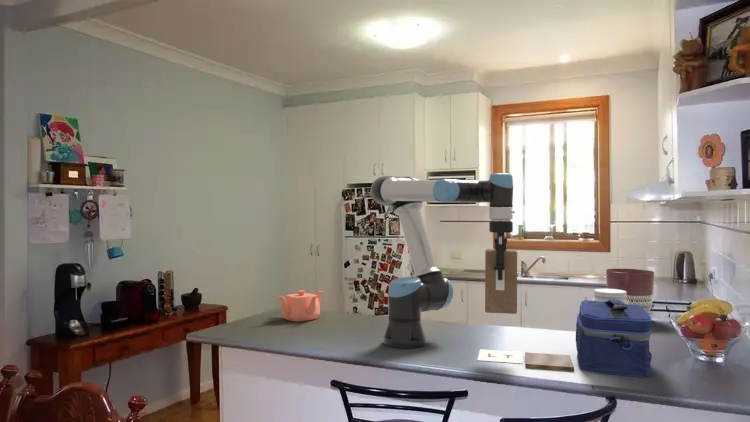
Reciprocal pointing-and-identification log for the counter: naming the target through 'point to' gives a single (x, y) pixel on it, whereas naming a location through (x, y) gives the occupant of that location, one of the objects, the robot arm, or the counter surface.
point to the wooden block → (508, 297)
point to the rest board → (549, 361)
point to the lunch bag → (613, 338)
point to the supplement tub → (610, 295)
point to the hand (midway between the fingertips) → (500, 287)
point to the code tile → (500, 356)
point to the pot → (301, 306)
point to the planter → (633, 285)
